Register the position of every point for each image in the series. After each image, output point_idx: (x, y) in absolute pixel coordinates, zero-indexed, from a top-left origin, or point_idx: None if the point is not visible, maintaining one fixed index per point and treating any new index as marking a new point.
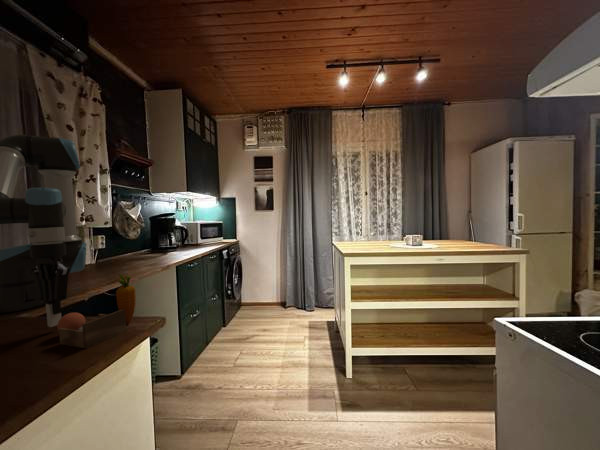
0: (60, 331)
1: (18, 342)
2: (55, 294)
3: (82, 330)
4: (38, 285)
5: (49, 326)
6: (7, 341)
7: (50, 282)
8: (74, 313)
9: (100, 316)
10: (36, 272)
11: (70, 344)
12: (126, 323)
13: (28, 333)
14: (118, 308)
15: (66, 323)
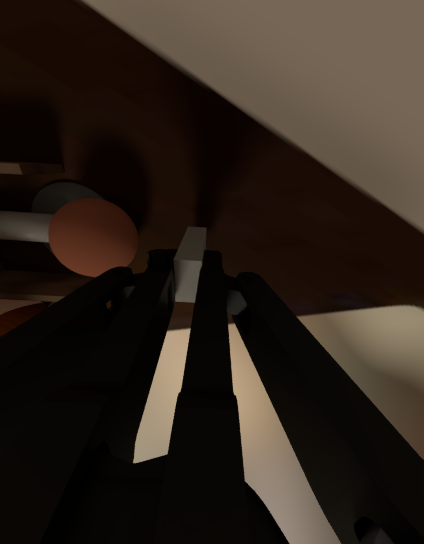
0: (17, 163)
1: (226, 143)
2: (93, 289)
3: (31, 220)
4: (282, 339)
5: (197, 227)
6: (279, 140)
7: (90, 362)
8: (62, 256)
9: (59, 292)
10: (410, 541)
11: (8, 161)
12: (43, 303)
13: (276, 207)
14: (1, 325)
15: (57, 211)
